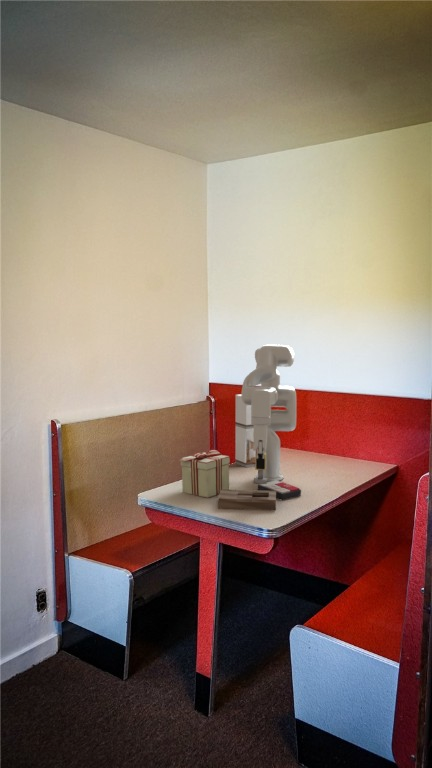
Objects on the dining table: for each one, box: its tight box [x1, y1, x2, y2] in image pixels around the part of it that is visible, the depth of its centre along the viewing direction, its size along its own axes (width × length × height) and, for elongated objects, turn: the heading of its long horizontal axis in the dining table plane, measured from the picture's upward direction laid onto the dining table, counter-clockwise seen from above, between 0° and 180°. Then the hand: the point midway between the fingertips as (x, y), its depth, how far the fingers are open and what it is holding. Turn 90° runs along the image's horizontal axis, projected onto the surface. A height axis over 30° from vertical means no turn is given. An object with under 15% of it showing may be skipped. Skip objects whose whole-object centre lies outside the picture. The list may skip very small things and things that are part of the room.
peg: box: [253, 451, 268, 485], centre depth 239 cm, size 5×5×12 cm
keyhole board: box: [217, 489, 277, 511], centre depth 241 cm, size 13×22×4 cm, turn 84°
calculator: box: [257, 480, 302, 501], centre depth 256 cm, size 11×4×15 cm
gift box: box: [177, 449, 231, 499], centre depth 259 cm, size 17×18×17 cm
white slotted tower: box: [234, 394, 257, 468], centre depth 309 cm, size 11×11×35 cm
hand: (260, 467), depth 239 cm, fingers closed on peg, 4 cm apart
